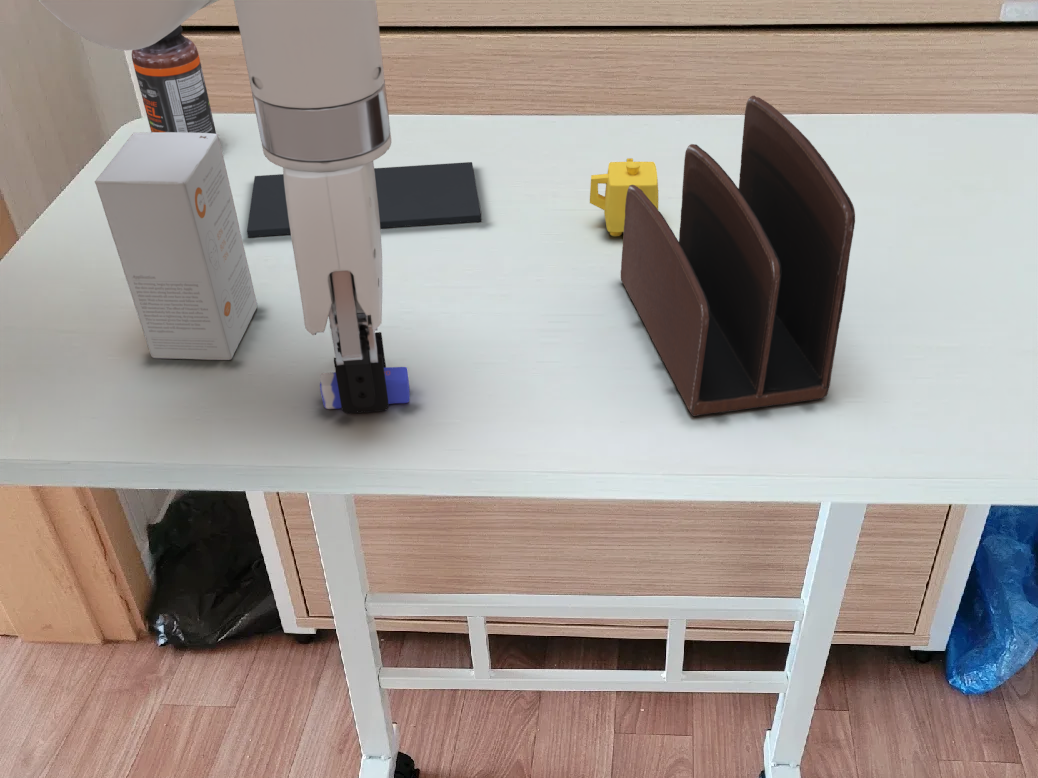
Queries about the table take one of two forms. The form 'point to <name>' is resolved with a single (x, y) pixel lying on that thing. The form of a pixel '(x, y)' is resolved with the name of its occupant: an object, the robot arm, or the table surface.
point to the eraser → (394, 383)
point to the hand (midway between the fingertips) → (365, 396)
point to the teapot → (623, 190)
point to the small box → (179, 243)
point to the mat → (384, 198)
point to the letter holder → (745, 271)
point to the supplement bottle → (173, 85)
